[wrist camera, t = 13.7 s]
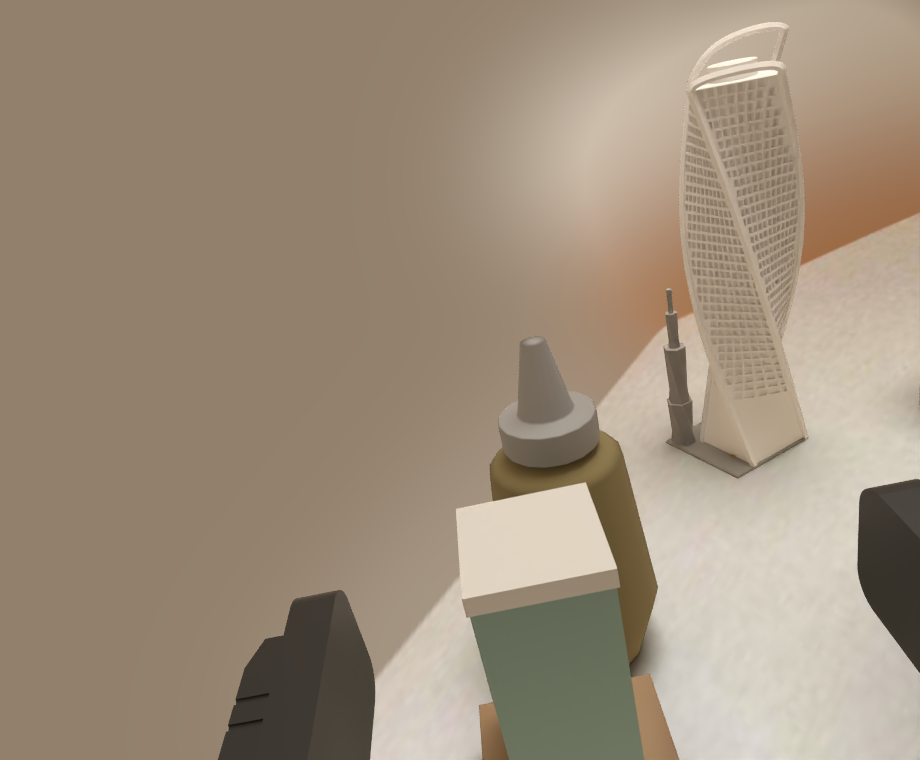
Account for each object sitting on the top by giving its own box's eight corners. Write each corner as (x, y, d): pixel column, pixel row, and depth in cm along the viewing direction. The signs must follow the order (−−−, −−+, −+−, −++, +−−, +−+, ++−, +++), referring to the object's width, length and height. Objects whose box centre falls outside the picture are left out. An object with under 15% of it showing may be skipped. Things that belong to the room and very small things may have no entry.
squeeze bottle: (488, 670, 39) (408, 375, 32) (557, 574, 45) (503, 304, 38) (628, 724, 35) (573, 392, 27) (686, 609, 40) (653, 308, 33)
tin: (620, 686, 33) (585, 482, 28) (652, 792, 28) (617, 568, 24) (507, 707, 33) (455, 508, 29) (521, 816, 29) (461, 599, 24)
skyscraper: (745, 404, 59) (724, 28, 47) (835, 438, 52) (836, 9, 40) (666, 445, 56) (623, 55, 44) (751, 488, 49) (726, 40, 38)
